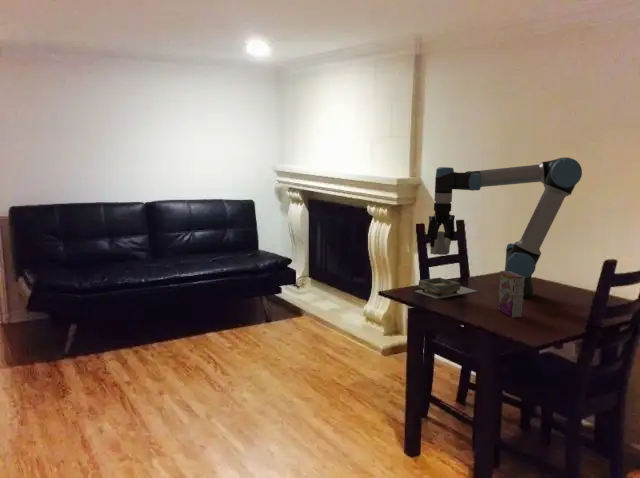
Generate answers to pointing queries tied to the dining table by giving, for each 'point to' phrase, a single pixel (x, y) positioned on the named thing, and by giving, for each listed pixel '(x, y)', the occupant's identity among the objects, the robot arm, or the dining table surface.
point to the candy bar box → (511, 294)
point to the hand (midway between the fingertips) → (439, 253)
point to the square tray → (439, 285)
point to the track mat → (447, 294)
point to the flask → (441, 244)
